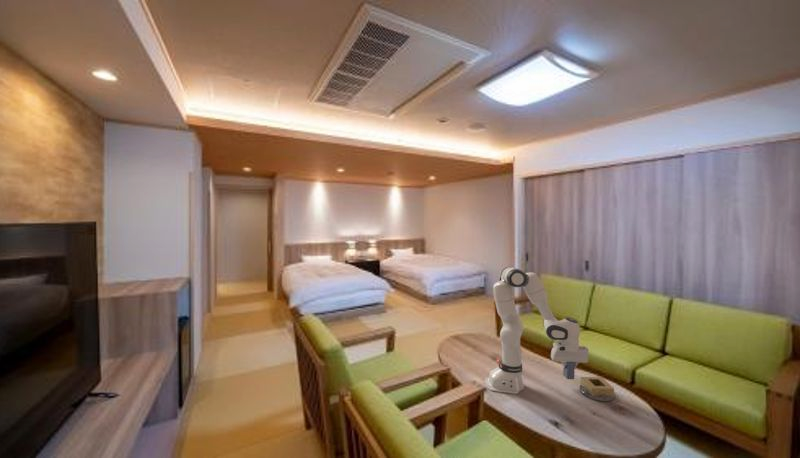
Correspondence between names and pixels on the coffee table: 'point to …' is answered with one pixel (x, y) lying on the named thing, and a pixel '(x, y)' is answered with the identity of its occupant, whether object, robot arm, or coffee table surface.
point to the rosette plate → (597, 389)
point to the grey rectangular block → (569, 370)
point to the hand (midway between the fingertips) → (568, 368)
